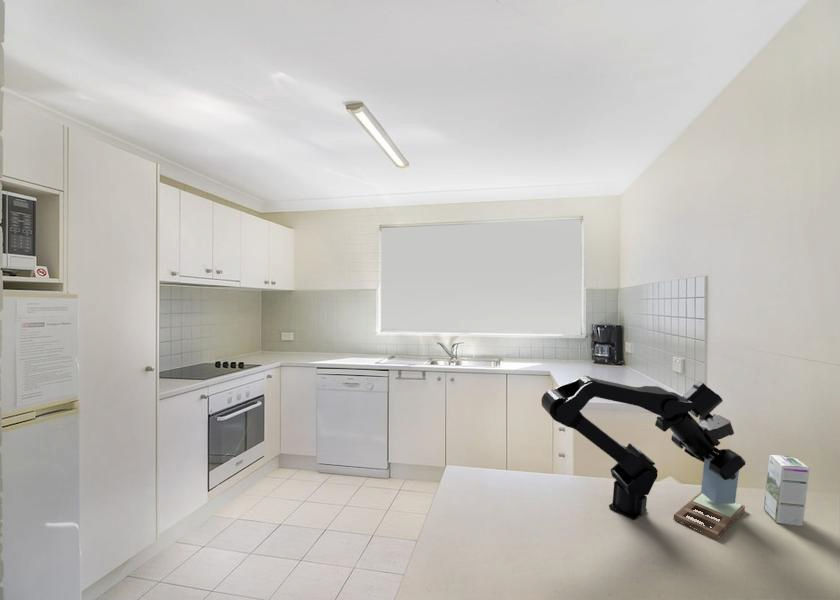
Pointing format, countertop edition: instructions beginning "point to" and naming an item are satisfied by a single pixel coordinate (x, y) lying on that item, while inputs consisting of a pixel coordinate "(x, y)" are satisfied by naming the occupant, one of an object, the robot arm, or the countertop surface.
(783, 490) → the syrup box
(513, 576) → the countertop surface
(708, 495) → the blue block
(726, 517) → the board
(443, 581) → the countertop surface
